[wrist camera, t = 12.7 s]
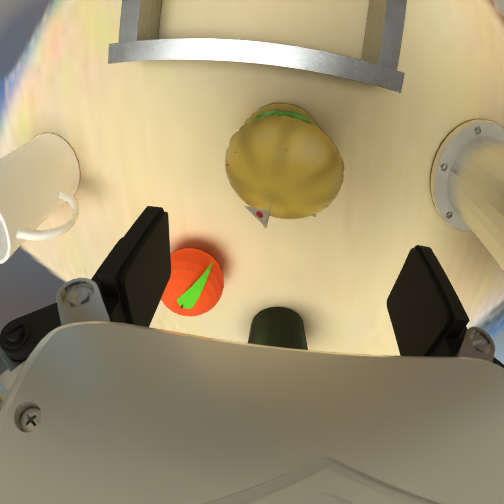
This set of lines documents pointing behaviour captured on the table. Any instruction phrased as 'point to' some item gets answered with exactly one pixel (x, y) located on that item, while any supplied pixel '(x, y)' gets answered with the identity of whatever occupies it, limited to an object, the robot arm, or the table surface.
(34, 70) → the table surface
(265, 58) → the frame
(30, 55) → the table surface
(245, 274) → the table surface
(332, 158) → the burger with flag pick
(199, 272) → the clementine
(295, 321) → the potion bottle
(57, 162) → the mug
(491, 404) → the robot arm
